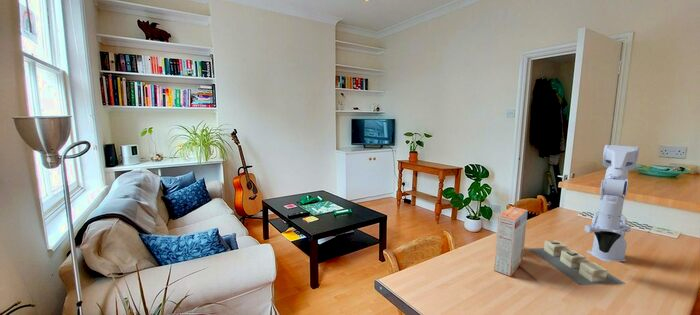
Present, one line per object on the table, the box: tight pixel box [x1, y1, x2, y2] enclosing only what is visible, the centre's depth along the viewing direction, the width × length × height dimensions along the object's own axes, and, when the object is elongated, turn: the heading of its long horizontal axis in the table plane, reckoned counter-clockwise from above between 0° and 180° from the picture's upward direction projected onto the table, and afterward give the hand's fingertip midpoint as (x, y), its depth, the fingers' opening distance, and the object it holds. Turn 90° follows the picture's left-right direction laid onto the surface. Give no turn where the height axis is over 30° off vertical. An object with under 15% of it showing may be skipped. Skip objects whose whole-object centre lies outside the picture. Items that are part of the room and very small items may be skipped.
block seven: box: [560, 250, 586, 268], centre depth 107 cm, size 5×5×4 cm
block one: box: [543, 239, 567, 256], centre depth 115 cm, size 5×5×4 cm
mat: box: [528, 247, 626, 286], centre depth 107 cm, size 16×25×1 cm, turn 4°
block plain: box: [579, 261, 608, 282], centre depth 99 cm, size 5×5×4 cm
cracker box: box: [493, 206, 528, 277], centre depth 105 cm, size 14×6×21 cm, turn 134°
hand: (603, 251), depth 100 cm, fingers closed
